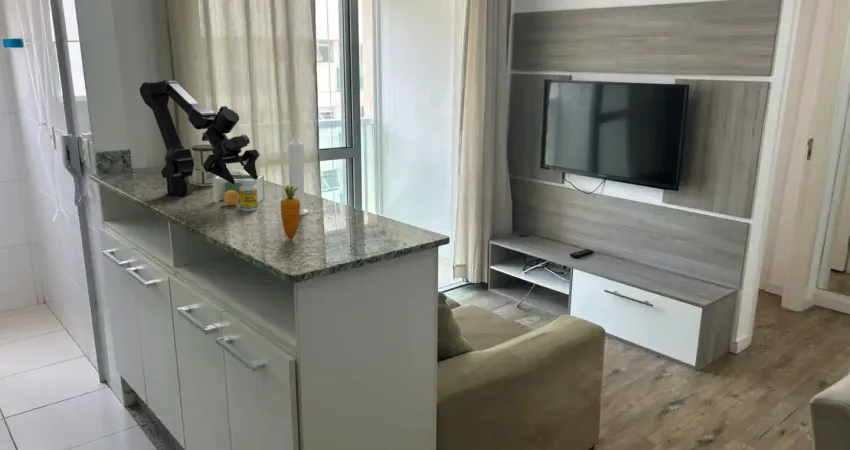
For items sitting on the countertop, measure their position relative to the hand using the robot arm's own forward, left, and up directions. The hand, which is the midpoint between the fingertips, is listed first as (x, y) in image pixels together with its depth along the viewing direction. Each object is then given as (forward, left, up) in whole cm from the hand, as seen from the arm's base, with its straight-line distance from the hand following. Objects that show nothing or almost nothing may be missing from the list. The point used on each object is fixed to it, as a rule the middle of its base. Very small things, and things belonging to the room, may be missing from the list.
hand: (245, 181), depth 197 cm
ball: (-6, +3, -6) cm, 9 cm away
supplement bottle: (+1, -1, -9) cm, 9 cm away
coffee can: (-27, +36, -9) cm, 46 cm away
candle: (+17, -3, -9) cm, 19 cm away
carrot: (+23, -33, -9) cm, 41 cm away
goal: (-6, +10, -9) cm, 15 cm away
